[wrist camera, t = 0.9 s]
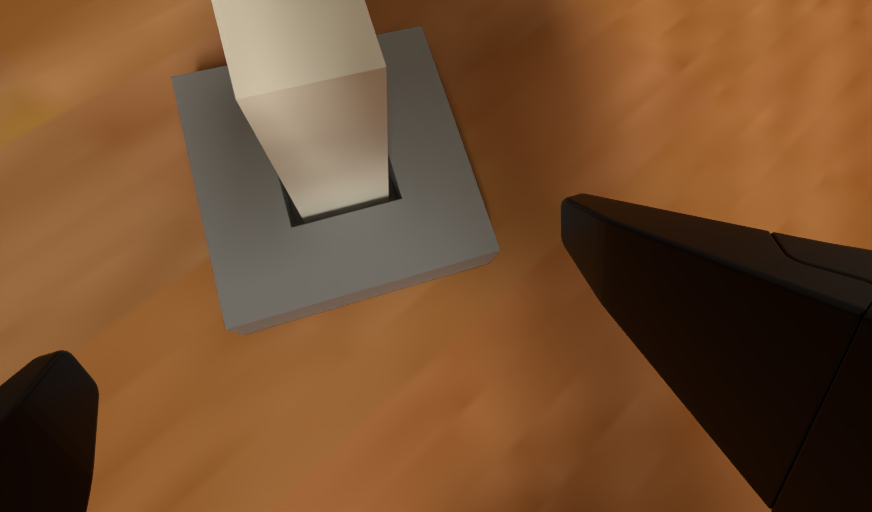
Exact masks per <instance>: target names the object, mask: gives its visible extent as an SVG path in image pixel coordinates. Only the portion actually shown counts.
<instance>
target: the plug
mask: <svg viewBox="0 0 872 512" xmlns="http://www.w3.org/2000/svg"><path fill="white" fill-rule="evenodd" d="M211 1H212V5H213V9H214V13H215V17H216V21H217V25H218V29H219V33H220V37H221V41H222V45H223V50H224V54H225V58H226V62H227V66H228V70H229V74H230V78H231V82H232V86H233V90H234V94H235V98H236V101H237V103H238V104H239V106H240V108H241V110H242V112H243V113H244V115H245V117H246V119H247V120H248V122H249V124H250V126H251V128H252V129H253V131H254V133H255V135H256V137H257V138H258V140H259V142H260V144H261V145H262V147H263V149H264V151H265V153H266V154H267V156H268V158H269V160H270V162H271V163H272V165H273V167H274V169H275V171H276V172H277V174H278V176H279V178H280V179H281V181H282V183H283V185H284V187H285V188H286V190H287V192H288V194H289V196H290V197H291V199H292V201H293V203H294V204H295V206H296V208H297V210H298V212H299V213H300V215H301V217H302V219H303V221H304V222H305V224H308V223H311V222H315V221H319V220H323V219H327V218H330V217H334V216H338V215H342V214H346V213H350V212H353V211H357V210H361V209H365V208H369V207H373V206H376V205H380V204H384V203H388V202H389V190H388V132H387V73H386V64H385V61H384V58H383V55H382V52H381V49H380V46H379V43H378V40H377V37H376V33H375V30H374V27H373V24H372V21H371V18H370V15H369V12H368V9H367V6H366V3H365V0H211Z"/></svg>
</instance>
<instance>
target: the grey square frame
mask: <svg viewBox="0 0 872 512" xmlns="http://www.w3.org/2000/svg"><path fill="white" fill-rule="evenodd" d="M376 37H377V40H378V43H379V46H380V49H381V52H382V55H383V58H384V61H385V64H386V73H387V132H388V190H389V202H388V203H384V204H380V205H376V206H373V207H369V208H365V209H361V210H357V211H353V212H350V213H346V214H342V215H338V216H334V217H330V218H327V219H323V220H319V221H315V222H311V223H308V224H305V222H304V221H303V219H302V217H301V215H300V213H299V212H298V210H297V208H296V206H295V204H294V203H293V201H292V199H291V197H290V196H289V194H288V192H287V190H286V188H285V187H284V185H283V183H282V181H281V179H280V178H279V176H278V174H277V172H276V171H275V169H274V167H273V165H272V163H271V162H270V160H269V158H268V156H267V154H266V153H265V151H264V149H263V147H262V145H261V144H260V142H259V140H258V138H257V137H256V135H255V133H254V131H253V129H252V128H251V126H250V124H249V122H248V120H247V119H246V117H245V115H244V113H243V112H242V110H241V108H240V106H239V104H238V103H237V101H236V98H235V94H234V90H233V86H232V82H231V78H230V74H229V70H228V66H222V67H217V68H212V69H207V70H203V71H198V72H193V73H188V74H183V75H178V76H173V77H171V78H172V83H173V88H174V92H175V97H176V102H177V106H178V111H179V116H180V120H181V125H182V129H183V134H184V139H185V143H186V148H187V153H188V157H189V162H190V166H191V171H192V176H193V180H194V185H195V190H196V194H197V199H198V203H199V208H200V213H201V217H202V222H203V227H204V231H205V236H206V241H207V245H208V250H209V254H210V259H211V264H212V268H213V273H214V278H215V282H216V287H217V291H218V296H219V301H220V305H221V310H222V315H223V319H224V324H225V328H226V330H229V331H233V332H236V333H240V334H243V335H245V334H248V333H252V332H255V331H259V330H262V329H265V328H269V327H272V326H276V325H279V324H283V323H286V322H289V321H293V320H296V319H300V318H303V317H307V316H310V315H313V314H317V313H320V312H324V311H327V310H331V309H334V308H337V307H341V306H344V305H348V304H351V303H355V302H358V301H361V300H365V299H368V298H372V297H375V296H379V295H382V294H385V293H389V292H392V291H396V290H399V289H403V288H406V287H409V286H413V285H416V284H420V283H423V282H427V281H430V280H433V279H437V278H440V277H444V276H447V275H451V274H454V273H458V272H461V271H464V270H468V269H471V268H475V267H478V266H482V265H485V264H488V263H490V262H491V261H492V260H493V258H494V257H495V256H496V255H497V254H498V253H499V251H500V248H499V245H498V242H497V239H496V236H495V233H494V231H493V228H492V225H491V222H490V219H489V216H488V214H487V211H486V208H485V205H484V202H483V199H482V196H481V194H480V191H479V188H478V185H477V182H476V179H475V176H474V174H473V171H472V168H471V165H470V162H469V159H468V157H467V154H466V151H465V148H464V145H463V142H462V139H461V137H460V134H459V131H458V128H457V125H456V122H455V119H454V117H453V114H452V111H451V108H450V105H449V102H448V100H447V97H446V94H445V91H444V88H443V85H442V82H441V80H440V77H439V74H438V71H437V68H436V65H435V62H434V60H433V57H432V54H431V51H430V48H429V45H428V42H427V40H426V37H425V34H424V31H423V28H422V26H417V27H412V28H407V29H402V30H397V31H393V32H388V33H383V34H378V35H376Z"/></svg>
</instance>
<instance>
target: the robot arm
mask: <svg viewBox="0 0 872 512" xmlns="http://www.w3.org/2000/svg"><path fill="white" fill-rule="evenodd" d="M561 238H562V242H563V244H564V246H565V248H566V250H567V251H568V253H569V254H570V256H571V258H572V259H573V261H574V262H575V264H576V265H577V267H578V269H579V270H580V272H581V273H582V275H583V276H584V278H585V279H586V281H587V283H588V284H589V286H590V287H591V289H592V290H593V292H594V294H595V295H596V296H597V298H598V299H599V301H600V302H601V304H602V305H603V306H604V308H605V309H606V310H607V311H608V313H609V314H610V315H611V316H612V318H613V319H614V320H615V321H616V322H617V324H618V325H619V326H620V327H621V328H622V330H623V331H624V332H625V333H626V335H627V336H628V337H629V338H630V339H631V341H632V342H633V343H634V344H635V346H636V347H637V348H638V349H639V350H640V352H641V353H642V354H643V355H644V357H645V358H646V359H647V360H648V361H649V363H650V364H651V365H652V366H653V367H654V369H655V370H656V371H657V372H658V374H659V375H660V376H661V377H662V378H663V380H664V381H665V382H666V383H667V385H668V386H669V387H670V388H671V389H672V391H673V392H674V393H675V394H676V396H677V397H678V398H679V399H680V400H681V402H682V403H683V404H684V405H685V407H686V408H687V409H688V410H689V411H690V413H691V414H692V415H693V416H694V417H695V419H696V420H697V421H698V422H699V424H700V425H701V426H702V427H703V428H704V430H705V431H706V432H707V433H708V435H709V436H710V437H711V438H712V439H713V441H714V442H715V443H716V444H717V446H718V447H719V448H720V449H721V450H722V452H723V453H724V454H725V455H726V456H727V458H728V459H729V460H730V461H731V463H732V464H733V465H734V466H735V467H736V469H737V470H738V471H739V472H740V474H741V475H742V476H743V477H744V478H745V480H746V481H747V482H748V483H749V485H750V486H751V487H752V488H753V489H754V491H755V492H756V493H757V494H758V496H759V497H760V498H761V499H762V500H763V502H764V503H765V504H766V505H767V506H768V508H770V509H772V510H771V511H772V512H872V250H868V249H862V248H856V247H850V246H844V245H838V244H832V243H827V242H821V241H816V240H811V239H806V238H800V237H795V236H790V235H786V234H781V233H776V232H773V233H771V234H770V232H769V231H765V230H761V229H756V228H751V227H746V226H741V225H736V224H731V223H726V222H721V221H716V220H711V219H707V218H702V217H697V216H692V215H687V214H682V213H677V212H672V211H667V210H662V209H658V208H653V207H648V206H643V205H638V204H633V203H628V202H623V201H618V200H613V199H608V198H604V197H599V196H594V195H589V194H578V195H574V196H571V197H568V198H565V199H564V200H563V201H562V204H561ZM98 402H99V391H98V387H97V385H96V383H95V381H94V380H93V379H92V377H91V376H90V375H89V374H88V373H87V371H86V370H85V369H84V368H83V367H82V366H81V364H80V363H79V362H78V361H77V360H76V358H75V357H74V356H73V355H72V354H71V353H69V352H68V351H64V350H60V351H56V352H53V353H49V354H46V355H43V356H39V357H37V358H35V359H33V360H32V361H31V362H29V363H28V364H27V365H26V366H24V367H23V368H22V369H21V370H20V371H18V372H17V373H16V374H15V375H13V376H12V377H11V378H10V379H8V380H7V381H6V382H5V383H3V384H2V385H1V386H0V512H86V511H87V506H88V501H89V496H90V490H91V484H92V478H93V469H94V459H95V445H96V431H97V417H98Z"/></svg>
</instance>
